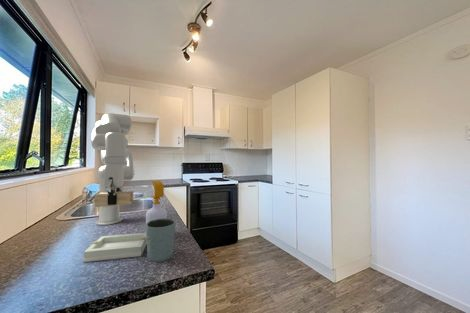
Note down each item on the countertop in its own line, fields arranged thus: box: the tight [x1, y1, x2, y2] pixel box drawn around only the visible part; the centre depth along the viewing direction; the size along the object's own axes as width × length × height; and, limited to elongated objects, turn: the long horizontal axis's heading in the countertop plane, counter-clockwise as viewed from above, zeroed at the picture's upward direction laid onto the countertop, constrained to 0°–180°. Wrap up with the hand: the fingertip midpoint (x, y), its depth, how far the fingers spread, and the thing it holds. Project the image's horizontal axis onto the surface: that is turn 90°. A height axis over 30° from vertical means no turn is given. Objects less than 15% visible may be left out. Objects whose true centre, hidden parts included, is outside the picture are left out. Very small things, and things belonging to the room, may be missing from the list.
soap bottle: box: [145, 180, 168, 224], centre depth 91 cm, size 9×9×25 cm
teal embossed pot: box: [145, 217, 177, 263], centre depth 71 cm, size 10×10×12 cm
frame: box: [94, 190, 134, 208], centre depth 85 cm, size 6×13×5 cm, turn 103°
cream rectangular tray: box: [82, 232, 147, 263], centre depth 76 cm, size 15×18×4 cm
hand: (115, 202), depth 85 cm, fingers closed on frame, 6 cm apart
